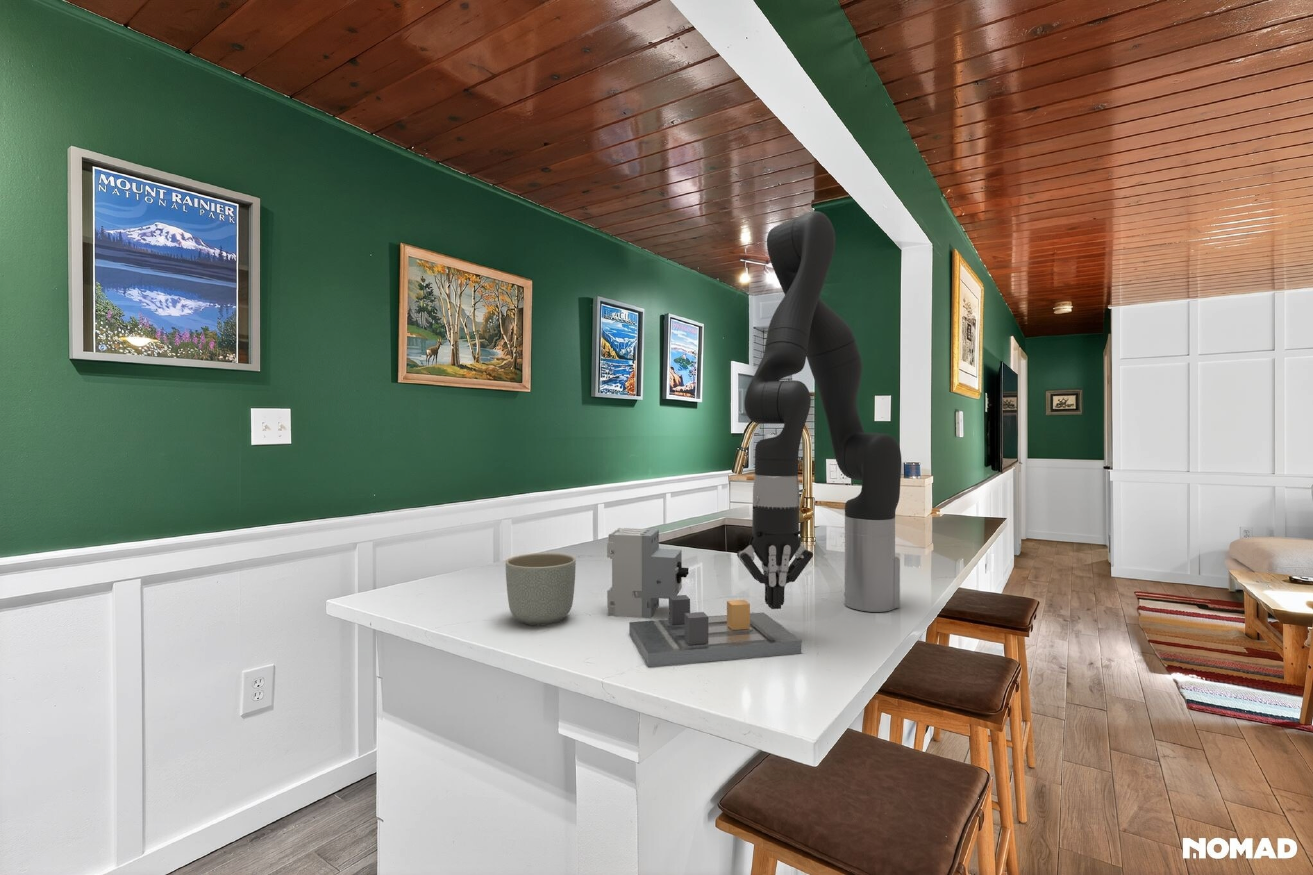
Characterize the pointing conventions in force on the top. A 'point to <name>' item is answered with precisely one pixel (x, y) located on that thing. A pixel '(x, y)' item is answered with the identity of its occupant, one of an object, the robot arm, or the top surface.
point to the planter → (540, 587)
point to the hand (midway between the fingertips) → (774, 607)
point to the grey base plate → (712, 641)
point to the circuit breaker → (641, 572)
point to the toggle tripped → (738, 614)
